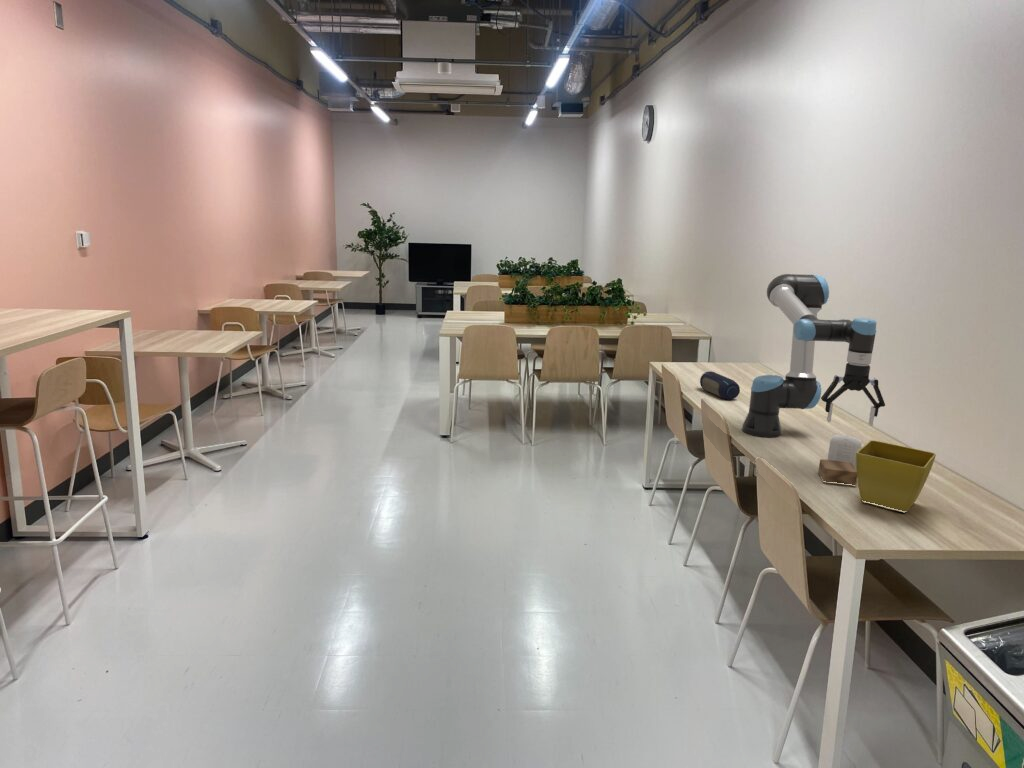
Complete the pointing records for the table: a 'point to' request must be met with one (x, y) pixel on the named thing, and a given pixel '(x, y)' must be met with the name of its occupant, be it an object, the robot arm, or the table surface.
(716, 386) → the portable speaker
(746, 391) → the table surface
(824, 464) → the walnut block
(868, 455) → the flower pot
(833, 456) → the photo printer
